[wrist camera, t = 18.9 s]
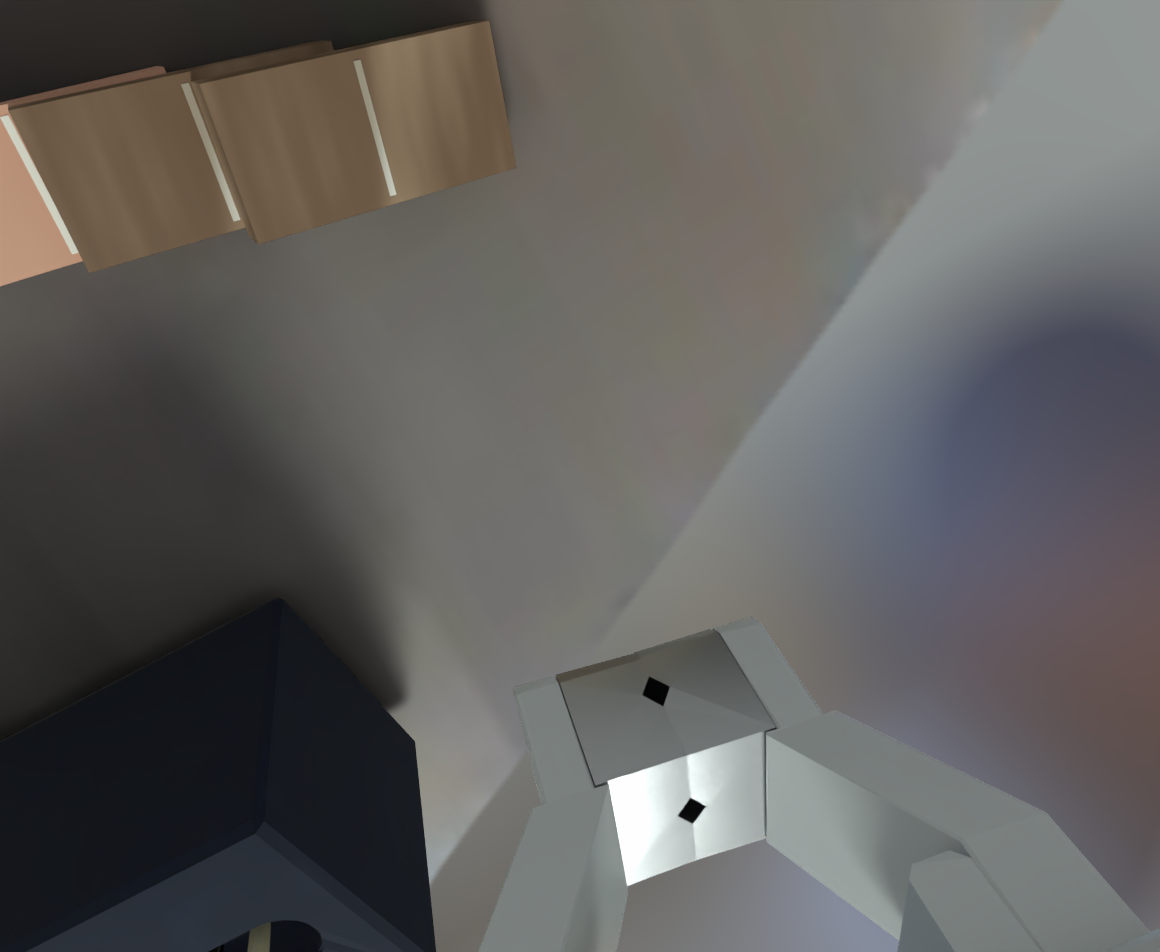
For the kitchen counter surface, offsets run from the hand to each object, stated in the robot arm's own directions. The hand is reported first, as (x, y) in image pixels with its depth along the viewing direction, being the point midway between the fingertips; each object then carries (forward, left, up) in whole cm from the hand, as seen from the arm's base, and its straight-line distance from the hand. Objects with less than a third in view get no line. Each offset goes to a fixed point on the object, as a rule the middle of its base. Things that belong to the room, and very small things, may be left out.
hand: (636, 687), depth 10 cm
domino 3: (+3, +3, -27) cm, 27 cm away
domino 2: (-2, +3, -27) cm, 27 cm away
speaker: (-19, -26, -28) cm, 42 cm away
